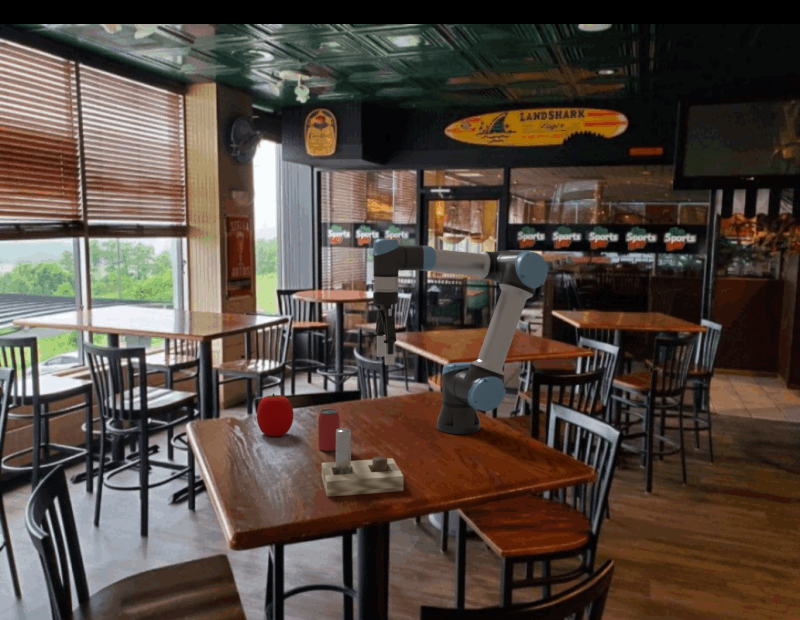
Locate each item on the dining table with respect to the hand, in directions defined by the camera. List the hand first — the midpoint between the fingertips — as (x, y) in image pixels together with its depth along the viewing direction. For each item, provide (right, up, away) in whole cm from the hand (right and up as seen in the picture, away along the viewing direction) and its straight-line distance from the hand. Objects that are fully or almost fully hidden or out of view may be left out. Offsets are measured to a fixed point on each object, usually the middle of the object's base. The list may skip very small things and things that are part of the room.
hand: (385, 360), depth 196 cm
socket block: (-6, -31, -22) cm, 39 cm away
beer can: (-18, -28, +6) cm, 34 cm away
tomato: (-37, -27, +20) cm, 50 cm away
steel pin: (-11, -30, -24) cm, 40 cm away
